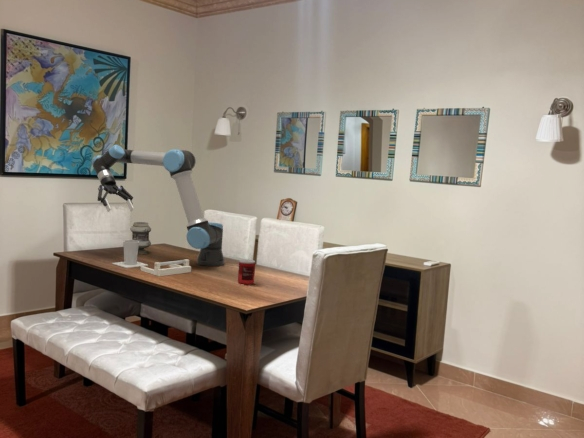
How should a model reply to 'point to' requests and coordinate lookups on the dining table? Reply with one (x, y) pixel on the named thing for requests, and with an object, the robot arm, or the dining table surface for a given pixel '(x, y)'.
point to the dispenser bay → (169, 271)
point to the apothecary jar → (141, 235)
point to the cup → (130, 251)
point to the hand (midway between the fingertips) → (121, 210)
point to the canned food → (246, 271)
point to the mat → (130, 265)
